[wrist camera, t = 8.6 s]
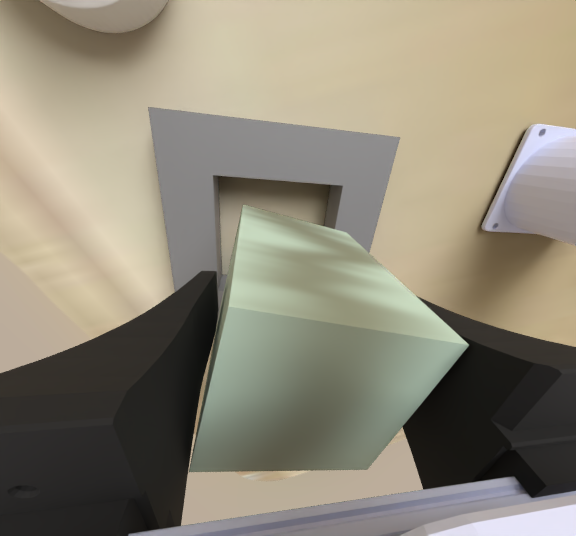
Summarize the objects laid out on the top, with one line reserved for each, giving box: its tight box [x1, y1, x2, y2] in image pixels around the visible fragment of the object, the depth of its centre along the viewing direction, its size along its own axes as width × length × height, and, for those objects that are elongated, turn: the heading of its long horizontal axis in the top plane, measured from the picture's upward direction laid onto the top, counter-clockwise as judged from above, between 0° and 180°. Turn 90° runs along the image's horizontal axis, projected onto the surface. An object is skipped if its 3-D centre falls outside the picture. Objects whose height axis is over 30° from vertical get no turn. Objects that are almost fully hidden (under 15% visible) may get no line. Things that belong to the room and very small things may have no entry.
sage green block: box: [189, 205, 469, 472], centre depth 9 cm, size 6×6×8 cm
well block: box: [148, 107, 400, 323], centre depth 17 cm, size 14×14×2 cm
